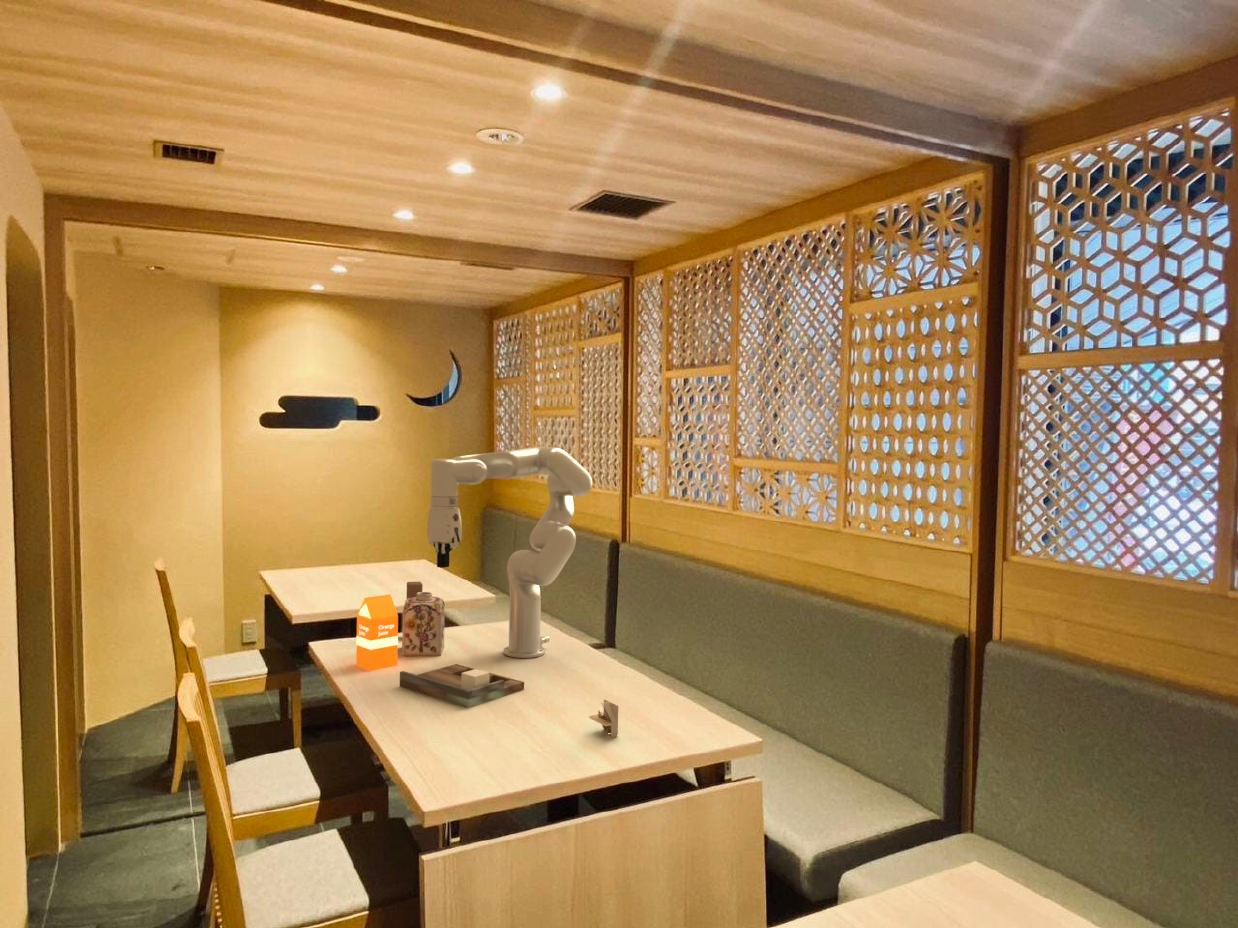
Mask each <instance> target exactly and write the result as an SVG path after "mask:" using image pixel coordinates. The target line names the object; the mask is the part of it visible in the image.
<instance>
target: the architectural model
mask: <svg viewBox="0 0 1238 928" xmlns="http://www.w3.org/2000/svg"><path fill="white" fill-rule="evenodd" d="M601 704H602V708H603V712H601V711H600V710H598V711H597V712H598V713H597V714H593V715H588V718H589V720H592V721H594V722H596V723H598V724H601V726H602V729H603V728H604V729H603V730H604V732H605V735H606V734H607V735H606V736H609V735H608V733H611V734H610V738H611V737H613V738H616V737H615V736H617V735H618V736H619V705H618V704H615V703H614V702H611V701H609V700H607V699H605V698H604V699H603V703H602V702H601ZM618 736H617V737H618Z"/></svg>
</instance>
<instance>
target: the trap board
mask: <svg viewBox="0 0 1238 928" xmlns="http://www.w3.org/2000/svg"><path fill="white" fill-rule="evenodd" d="M474 669H475V668H473V667H469V666H466V665H465V666H464V665H462V664H458V663H454V664H452V665H447V666H444V667H440V668H437V669H433V670H429V671H425V672H422V673H418V674H415V673H412V672H408V671H404V670H402V671H399V688H402V689H406V690H409V691H412V692H414V693H420V694H422V695H426V696H430V697H433V698H436V699H439V700H443V701H446V702H449V703H451V704H455V705H458V706H461V707H466V708H468V709H469V708H472V707H474V706H478V705H481V704H485V703H487V702H490V701H493V700H497V699H499V698H502V697H505V696H508V695H512V694H515V693H517V692H521V691H523V690H525V681H523V680H520V679H519V680H518V679H514V678H510V677H506V676H503V675H500V674H499V675H498V674H497V673H496V674H495V673H491V672H489V673H490V680H489V684H487V685H483V686H480V687H477V688H474V689H470V690H468V689H464V688H461V676H462V673H463V672H467V671H471V670H474Z"/></svg>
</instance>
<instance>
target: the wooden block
mask: <svg viewBox="0 0 1238 928" xmlns="http://www.w3.org/2000/svg"><path fill="white" fill-rule="evenodd" d="M423 586H424V585H423V583H422V581H407V582H406V600H407V599H409V598H413V597H416V596H417V593H418V592H423V589H424V588H423Z"/></svg>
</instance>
